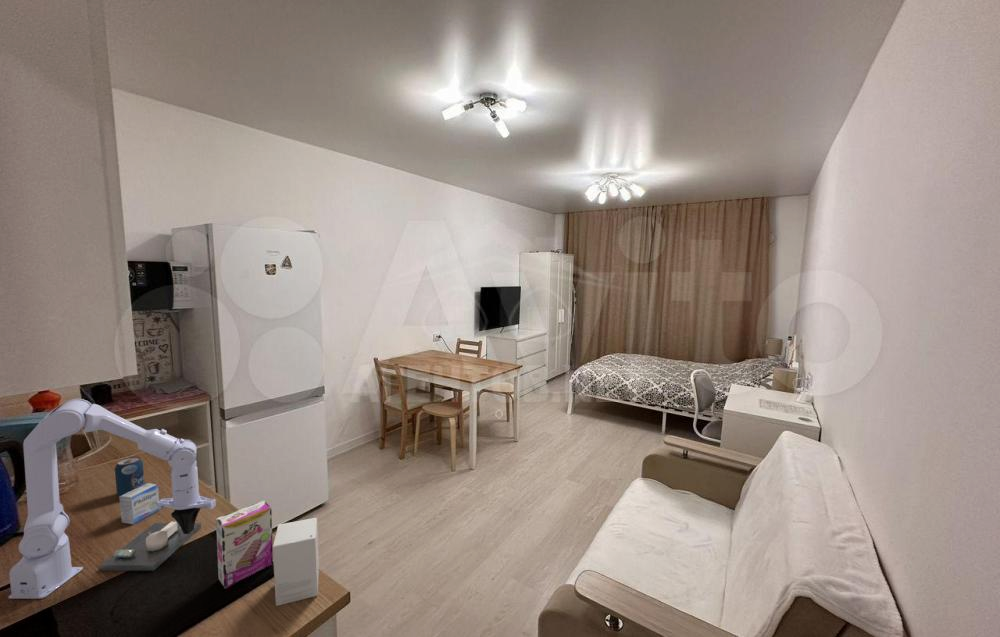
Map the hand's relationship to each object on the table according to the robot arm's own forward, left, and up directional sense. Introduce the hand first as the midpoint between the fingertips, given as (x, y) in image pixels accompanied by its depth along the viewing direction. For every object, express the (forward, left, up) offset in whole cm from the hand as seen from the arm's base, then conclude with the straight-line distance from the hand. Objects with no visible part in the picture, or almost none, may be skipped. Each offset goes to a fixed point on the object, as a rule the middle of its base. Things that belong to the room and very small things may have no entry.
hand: (188, 531), depth 113 cm
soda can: (+24, +35, -3) cm, 43 cm away
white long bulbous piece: (-2, +6, -1) cm, 6 cm away
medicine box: (+12, +22, -3) cm, 25 cm away
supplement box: (-16, -38, -3) cm, 41 cm away
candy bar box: (-12, -23, -3) cm, 25 cm away
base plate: (-2, +7, -3) cm, 8 cm away
